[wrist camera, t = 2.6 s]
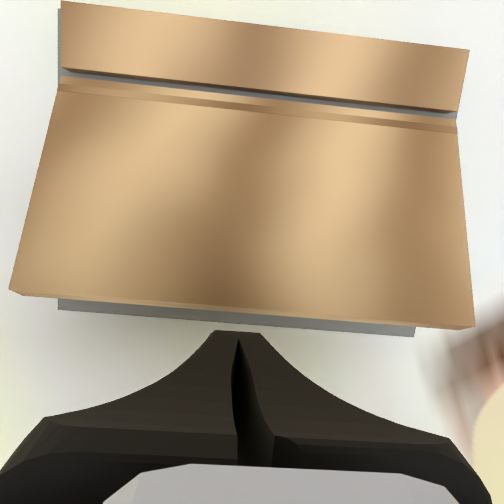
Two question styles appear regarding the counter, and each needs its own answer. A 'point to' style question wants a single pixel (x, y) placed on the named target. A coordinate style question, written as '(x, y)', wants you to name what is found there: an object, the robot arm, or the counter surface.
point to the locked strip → (260, 58)
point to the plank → (247, 207)
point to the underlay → (222, 315)
